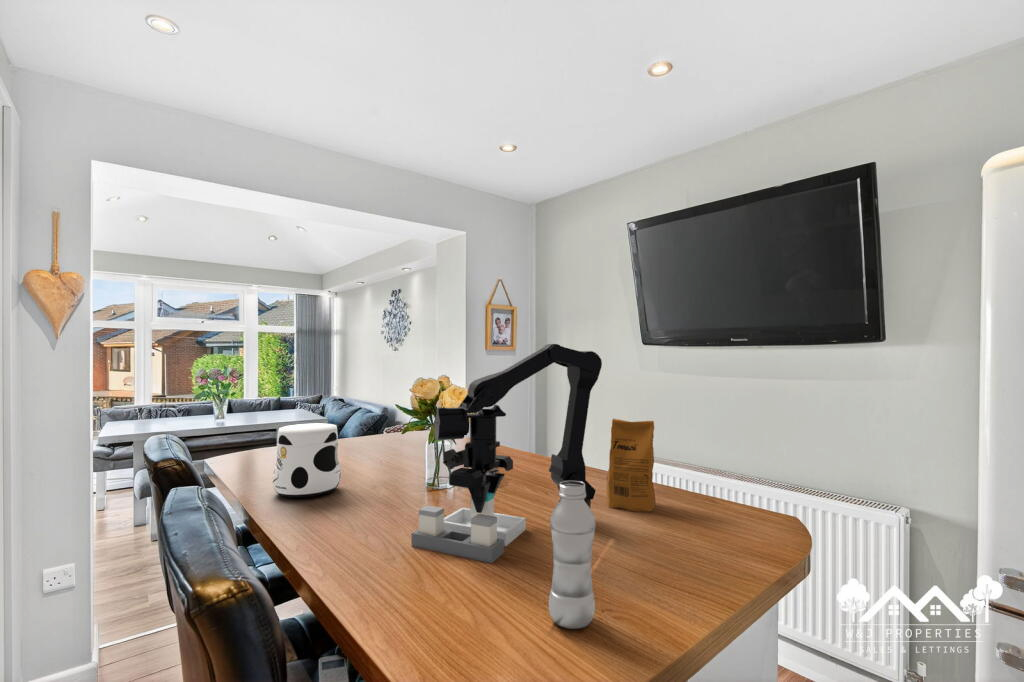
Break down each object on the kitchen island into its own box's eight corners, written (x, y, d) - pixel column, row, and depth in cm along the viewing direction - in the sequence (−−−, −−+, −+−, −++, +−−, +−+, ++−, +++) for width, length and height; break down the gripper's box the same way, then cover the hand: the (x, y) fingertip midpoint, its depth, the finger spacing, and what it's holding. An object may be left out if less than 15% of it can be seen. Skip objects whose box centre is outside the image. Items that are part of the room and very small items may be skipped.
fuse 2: (496, 553, 92) (496, 516, 92) (489, 559, 89) (489, 521, 90) (478, 550, 94) (478, 513, 94) (470, 555, 91) (471, 518, 91)
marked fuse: (493, 525, 104) (494, 493, 104) (487, 530, 102) (487, 496, 102) (477, 522, 106) (477, 490, 106) (470, 527, 103) (471, 494, 103)
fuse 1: (443, 542, 97) (444, 508, 97) (435, 548, 95) (435, 512, 95) (427, 539, 99) (427, 505, 99) (418, 544, 96) (418, 509, 96)
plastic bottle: (547, 610, 73) (548, 477, 74) (592, 611, 73) (592, 478, 73) (549, 635, 67) (549, 489, 67) (598, 636, 66) (598, 490, 67)
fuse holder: (503, 555, 93) (503, 539, 93) (491, 565, 88) (491, 549, 88) (426, 539, 100) (426, 524, 100) (411, 548, 96) (411, 533, 96)
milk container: (259, 494, 131) (260, 428, 131) (317, 480, 145) (318, 421, 146) (295, 506, 121) (296, 434, 122) (353, 490, 135) (354, 426, 136)
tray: (525, 531, 105) (525, 517, 105) (505, 548, 96) (505, 533, 96) (462, 520, 112) (462, 507, 112) (438, 535, 103) (438, 521, 103)
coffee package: (610, 497, 131) (610, 415, 131) (657, 503, 126) (657, 418, 126) (602, 507, 121) (602, 420, 122) (653, 514, 116) (652, 423, 117)
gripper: (472, 428, 116) (471, 494, 116) (427, 441, 99) (426, 518, 99) (514, 432, 111) (513, 500, 111) (474, 446, 94) (473, 526, 94)
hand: (482, 510), depth 104 cm, fingers closed on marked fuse, 3 cm apart
